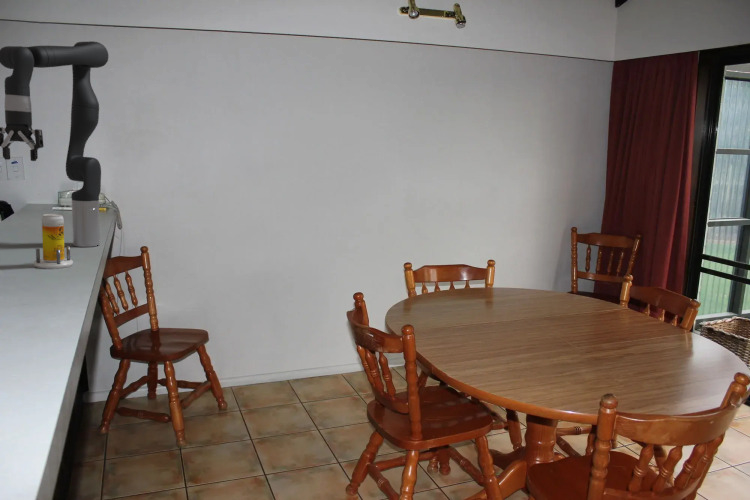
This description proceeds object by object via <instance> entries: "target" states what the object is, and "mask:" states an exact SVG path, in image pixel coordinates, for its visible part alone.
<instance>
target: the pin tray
mask: <svg viewBox="0 0 750 500" xmlns="http://www.w3.org/2000/svg"><path fill="white" fill-rule="evenodd" d="M65 247H66V257H65V259H64V260H63V261H62V262H60V250H56V253H57V263H47V262H45V260H43V258H41V254H40V253H41V251H40V248H35V258H36V260H34V262H33V267H34V268H37V269H48V270H53V269H54V270H55V269H65V268H70V267H73V265H74V261H73V259H71V246H69V245H67V246H65Z"/></svg>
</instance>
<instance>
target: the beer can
mask: <svg viewBox="0 0 750 500" xmlns="http://www.w3.org/2000/svg"><path fill="white" fill-rule="evenodd" d="M41 227H42V228H41V229H42V230H41V233H42V236H41V237H42V259H43V260H45V262H47V263H57V253H56V250H60V262H62V261H63V260H64V259H65V258H66V257H65V255H66V254H65V252H66V251H65V220H64V217H63V215H62V214H59V213H46V214H43V216H42V218H41Z"/></svg>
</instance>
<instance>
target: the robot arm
mask: <svg viewBox="0 0 750 500" xmlns="http://www.w3.org/2000/svg"><path fill="white" fill-rule="evenodd" d="M108 61H109V52H108V49H107V48H106V46H105V45H104V44H103V43H101V42H99V41H94V40H93V41H90V40H89V41H78V42H75V44H74V45H73V46H72V45H71V46H70V45H67V46H66V45H34V46H32V45H31V46H21V45H19V46H17V45H16V46H15V45H8V46H3V47H1V48H0V64H1V66H3V67H4V68H6V69H9V70H12V72H11V73H12V74H10V75H9V76H7V77H5V78H4V122H5V125H6V126H5V127H3V126H0V148H2V149H1V150H2V157H3V159H4V160H7V161H9V160H11V148H10V147H11V144H13V143H14V142H21V143H25V144H27V146H28V147H29V148H30V150H29V151H30V152H29V154H30V155H29V156H30V161H31V162H36V161H37V160H38V158H39V156H38V155H39V154H38V152H39V149H43V148H44V138H43V137H44V136H43V130H42V129H38V128H37V129H33V128H32V127H33V119H32V117H33V115H32V113H33V111H32V101H31V87H30V84H31V80H32V76H33V72H34V68H37V69H39V68H41V69H42V68H56V67H65V66H66V67H67V66H71V68H72V70H71V71H72V98H71V111H70V131H69V141H68V148H67V154H66V160H65V172H66V174H65V175H66V176H67V178H68V180H70V181H73V182H83V184H82V187H81V188H80V189H77V190H74V191H73V192H71V218H72V219H71V220H72V222H71V223H72V224H71V225H72V246H74V247H80V248H89V247H97V245H98V246H100V245H99V244H101V241H100V239H101V238H100V237H101V235H100V227H101V226H100V194H101V189H102V187H101V186H102V184H101V183H102V168H101V167H102V166H101V163H100V161H99V160H98V159H97V158H95V157H92V156H91V157H89V156H84V155H85V154H84V152H85V149H86V148H85V147H86V144H87V142H88V139H89V138H90V137H91V136H92V134H93V133H94V131H95V130H96V128H97V126H98V124H99V120H100V119H99V115H100V104H99V101H98V97H97V95H96V93H95V91H94V89H93V86H92V84H91V83H92V82H91V70H92V69H95V68H96V69H99V68H102V67H104V66H106V64H108ZM5 133H6V137H5ZM32 136H34V138H33V137H32ZM34 139H35V140H34Z"/></svg>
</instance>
